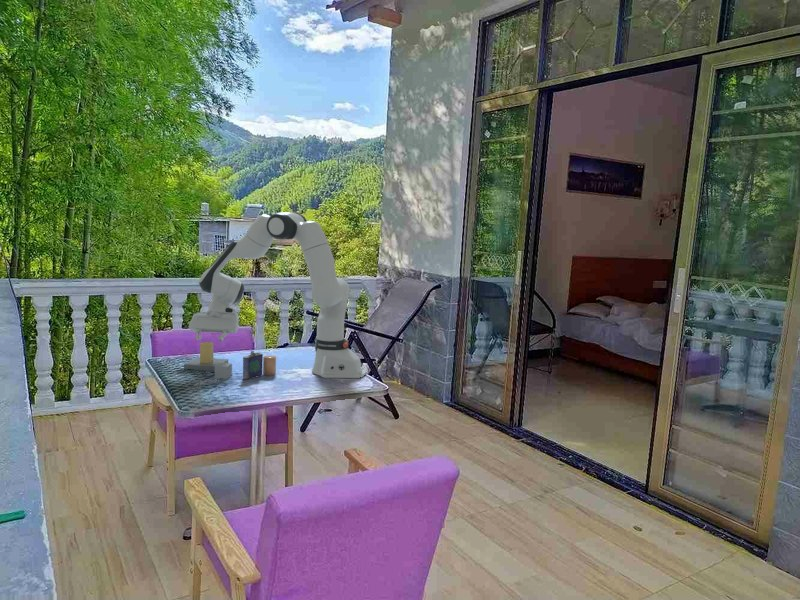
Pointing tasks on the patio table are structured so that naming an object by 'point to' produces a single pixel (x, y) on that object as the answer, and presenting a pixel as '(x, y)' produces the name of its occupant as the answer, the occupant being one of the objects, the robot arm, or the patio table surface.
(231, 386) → the patio table surface
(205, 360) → the ochre block
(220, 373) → the grey block
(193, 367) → the slate tile
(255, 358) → the flask
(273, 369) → the brown upright cylinder
